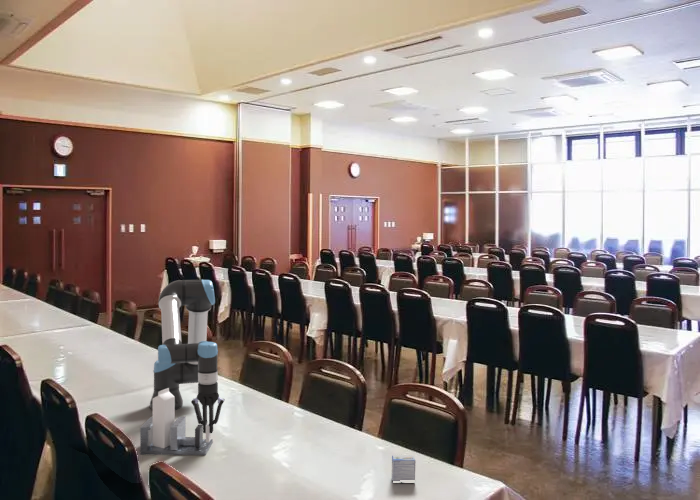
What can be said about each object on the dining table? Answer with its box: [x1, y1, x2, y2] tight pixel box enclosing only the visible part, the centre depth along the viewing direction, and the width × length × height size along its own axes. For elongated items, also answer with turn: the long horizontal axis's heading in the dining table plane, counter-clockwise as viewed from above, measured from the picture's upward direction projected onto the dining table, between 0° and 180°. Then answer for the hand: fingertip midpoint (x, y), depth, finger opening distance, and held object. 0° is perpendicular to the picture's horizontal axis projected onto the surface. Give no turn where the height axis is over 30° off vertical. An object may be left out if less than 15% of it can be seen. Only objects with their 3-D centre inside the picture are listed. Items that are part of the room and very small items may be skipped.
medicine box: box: [391, 454, 417, 481], centre depth 201 cm, size 8×4×9 cm, turn 92°
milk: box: [152, 388, 176, 448], centre depth 225 cm, size 6×6×22 cm
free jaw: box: [170, 415, 204, 450], centre depth 225 cm, size 12×11×9 cm
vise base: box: [139, 416, 214, 456], centre depth 225 cm, size 12×25×10 cm, turn 91°
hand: (208, 440), depth 226 cm, fingers closed
